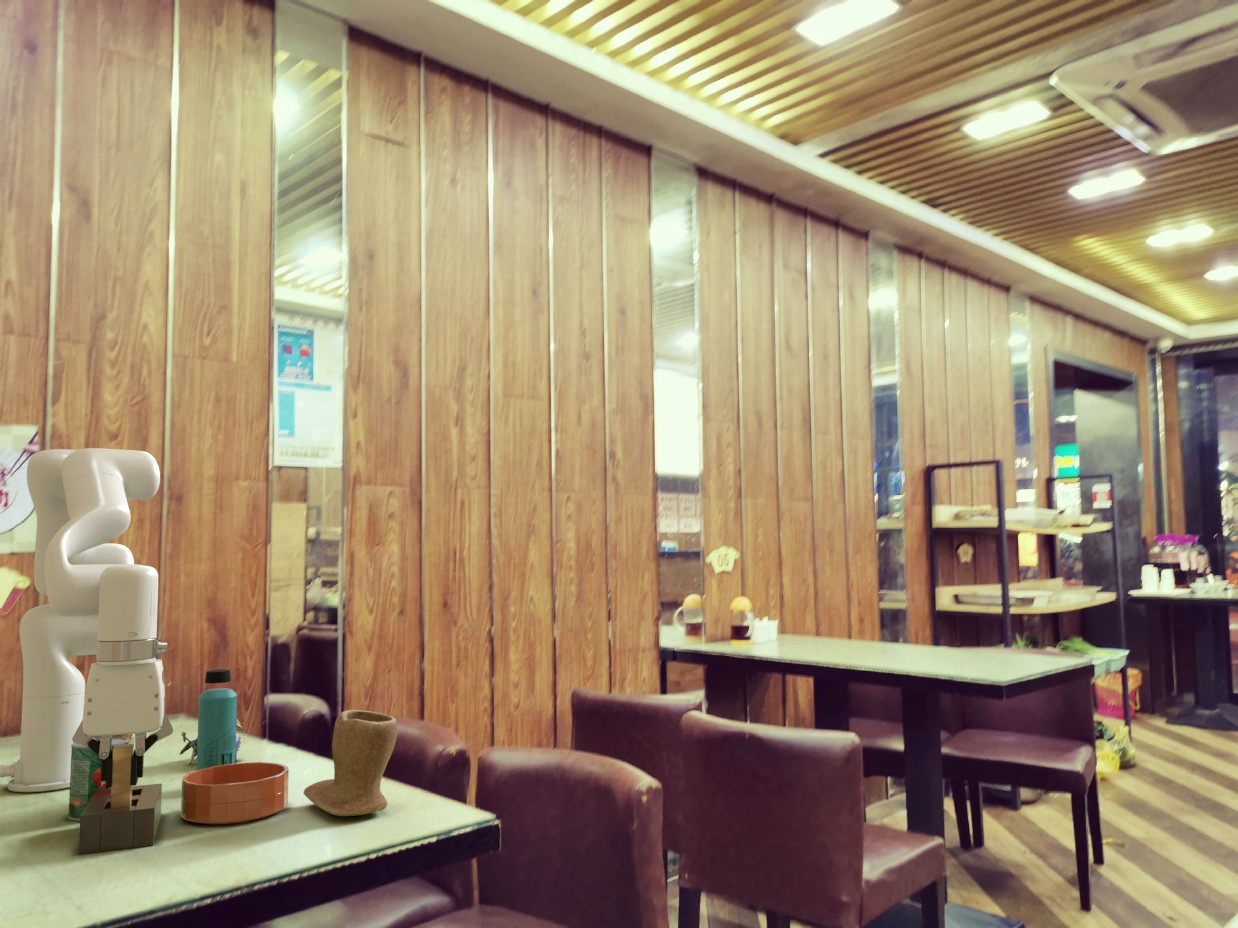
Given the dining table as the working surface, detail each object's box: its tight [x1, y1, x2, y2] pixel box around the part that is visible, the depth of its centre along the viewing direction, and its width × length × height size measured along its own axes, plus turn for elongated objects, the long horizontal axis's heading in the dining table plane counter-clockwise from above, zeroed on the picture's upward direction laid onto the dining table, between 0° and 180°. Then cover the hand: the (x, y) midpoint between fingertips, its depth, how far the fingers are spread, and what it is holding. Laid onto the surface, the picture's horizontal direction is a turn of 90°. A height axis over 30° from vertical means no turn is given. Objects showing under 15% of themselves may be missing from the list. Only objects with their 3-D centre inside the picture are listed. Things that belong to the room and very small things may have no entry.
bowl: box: [180, 761, 289, 825], centre depth 143 cm, size 15×15×6 cm
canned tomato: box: [67, 737, 130, 822], centre depth 144 cm, size 8×8×11 cm
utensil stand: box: [78, 783, 163, 855], centre depth 133 cm, size 9×16×5 cm, turn 23°
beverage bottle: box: [195, 668, 238, 770], centre depth 160 cm, size 6×7×20 cm
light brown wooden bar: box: [111, 743, 135, 808], centre depth 130 cm, size 2×2×13 cm
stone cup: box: [303, 709, 399, 817], centre depth 145 cm, size 15×12×15 cm
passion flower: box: [179, 718, 245, 765], centre depth 179 cm, size 11×11×12 cm
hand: (122, 783), depth 130 cm, fingers closed on light brown wooden bar, 2 cm apart
